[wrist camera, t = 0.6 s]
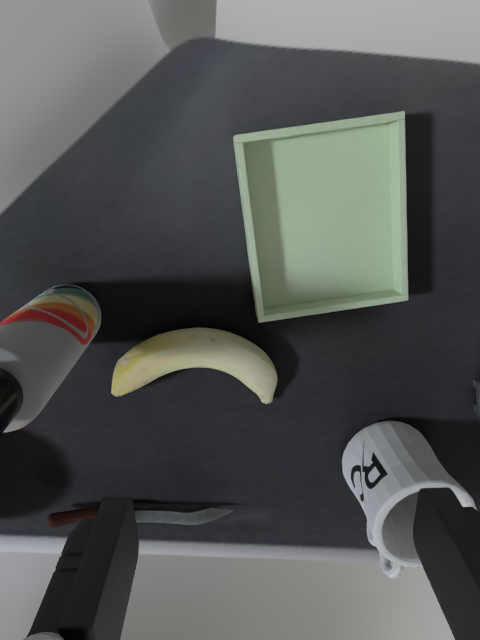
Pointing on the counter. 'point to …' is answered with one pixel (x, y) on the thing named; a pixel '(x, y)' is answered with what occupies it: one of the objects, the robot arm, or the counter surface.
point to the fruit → (196, 360)
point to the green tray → (325, 215)
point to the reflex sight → (477, 396)
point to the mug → (394, 487)
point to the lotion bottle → (42, 350)
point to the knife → (147, 514)
